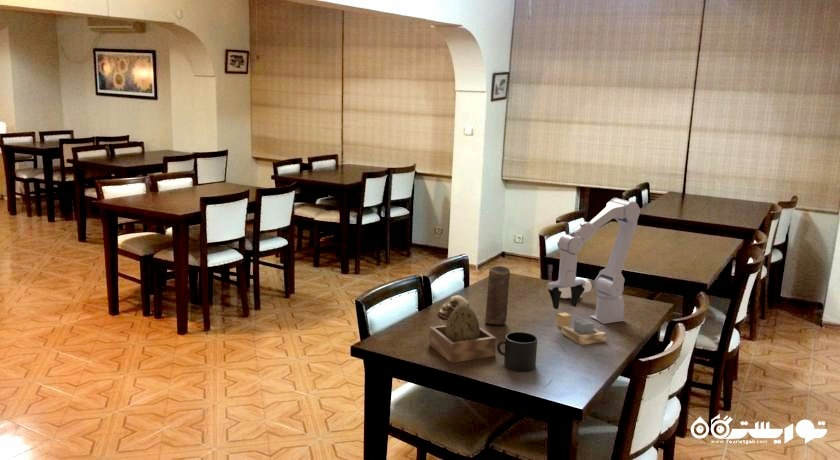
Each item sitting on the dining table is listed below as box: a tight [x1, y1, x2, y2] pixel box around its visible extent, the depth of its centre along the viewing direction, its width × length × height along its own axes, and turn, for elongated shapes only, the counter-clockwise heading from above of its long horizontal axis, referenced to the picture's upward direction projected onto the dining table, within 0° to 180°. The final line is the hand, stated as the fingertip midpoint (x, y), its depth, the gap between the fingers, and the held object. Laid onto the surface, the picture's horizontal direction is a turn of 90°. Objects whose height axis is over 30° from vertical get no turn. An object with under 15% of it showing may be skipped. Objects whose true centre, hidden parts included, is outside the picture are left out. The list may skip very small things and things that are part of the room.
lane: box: [560, 326, 607, 346], centre depth 236 cm, size 10×12×3 cm
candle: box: [484, 265, 511, 326], centre depth 245 cm, size 8×7×20 cm
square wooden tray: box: [428, 324, 497, 364], centre depth 221 cm, size 15×15×6 cm
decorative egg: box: [445, 305, 481, 342], centre depth 220 cm, size 11×11×15 cm
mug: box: [496, 331, 538, 373], centre depth 211 cm, size 9×12×9 cm
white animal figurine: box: [558, 279, 593, 299], centre depth 276 cm, size 9×8×15 cm
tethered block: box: [556, 312, 595, 335], centre depth 240 cm, size 4×15×6 cm, turn 24°
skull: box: [437, 294, 470, 320], centre depth 254 cm, size 12×10×10 cm
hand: (564, 307), depth 245 cm, fingers open, 7 cm apart
